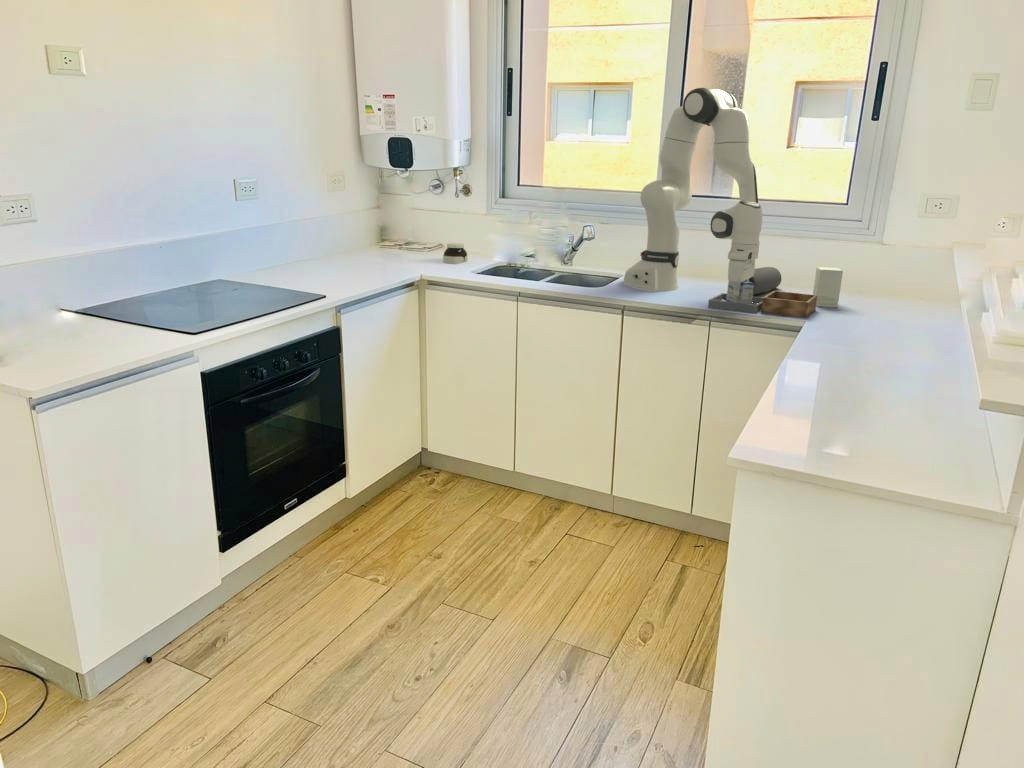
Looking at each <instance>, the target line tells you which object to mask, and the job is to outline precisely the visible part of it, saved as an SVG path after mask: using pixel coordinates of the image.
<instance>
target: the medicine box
mask: <svg viewBox="0 0 1024 768" xmlns="http://www.w3.org/2000/svg"><path fill="white" fill-rule="evenodd" d="M753 288H754V283H752V282H748V281H743V282H741V285H740V295H739V296H734V288H733V283H729V281H728V284H727V291H726V294H727V298H726V299H725V301H727V302H735V303H744V304H753V303H752V296H753V297H754V295H753Z"/></svg>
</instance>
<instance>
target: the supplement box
mask: <svg viewBox="0 0 1024 768" xmlns="http://www.w3.org/2000/svg"><path fill="white" fill-rule="evenodd" d="M843 272H844V270H842V269H840V268H839V267H827V266H826V267H822V266H821V267H818V266H817V267H816V270H815V276H814V277H815V278H814V284H813V290H812V291H813V292H812V295H817V302H816V307H818V306H823V307H822V308H834V307H837V308H838V305H839V299H840V293H841V287H842V279H843Z"/></svg>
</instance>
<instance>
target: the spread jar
mask: <svg viewBox="0 0 1024 768" xmlns="http://www.w3.org/2000/svg"><path fill="white" fill-rule="evenodd" d="M464 246H465V245H464V243H463V242H448V243H446V247H447V248H445V251H444V253H443V256H442V257H443V258H442V259H443V261H442V262H443V263H444V264H449V265H460V264H465V263H467V262H468V252H467V251H466V249H465V248H464Z"/></svg>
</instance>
